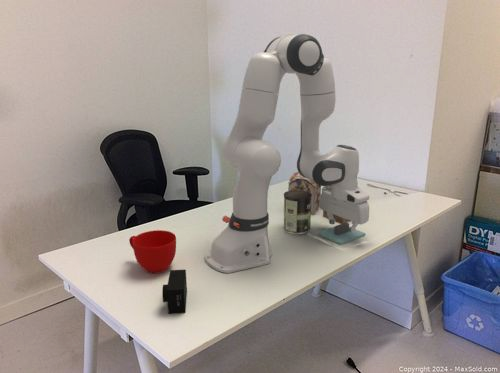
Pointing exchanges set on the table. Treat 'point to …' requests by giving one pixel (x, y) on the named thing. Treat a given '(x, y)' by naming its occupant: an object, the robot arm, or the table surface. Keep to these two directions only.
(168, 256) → the ceramic cup
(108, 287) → the table surface
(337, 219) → the walnut box
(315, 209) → the decorative jar
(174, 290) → the digital camera
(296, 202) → the coffee can
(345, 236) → the lid
